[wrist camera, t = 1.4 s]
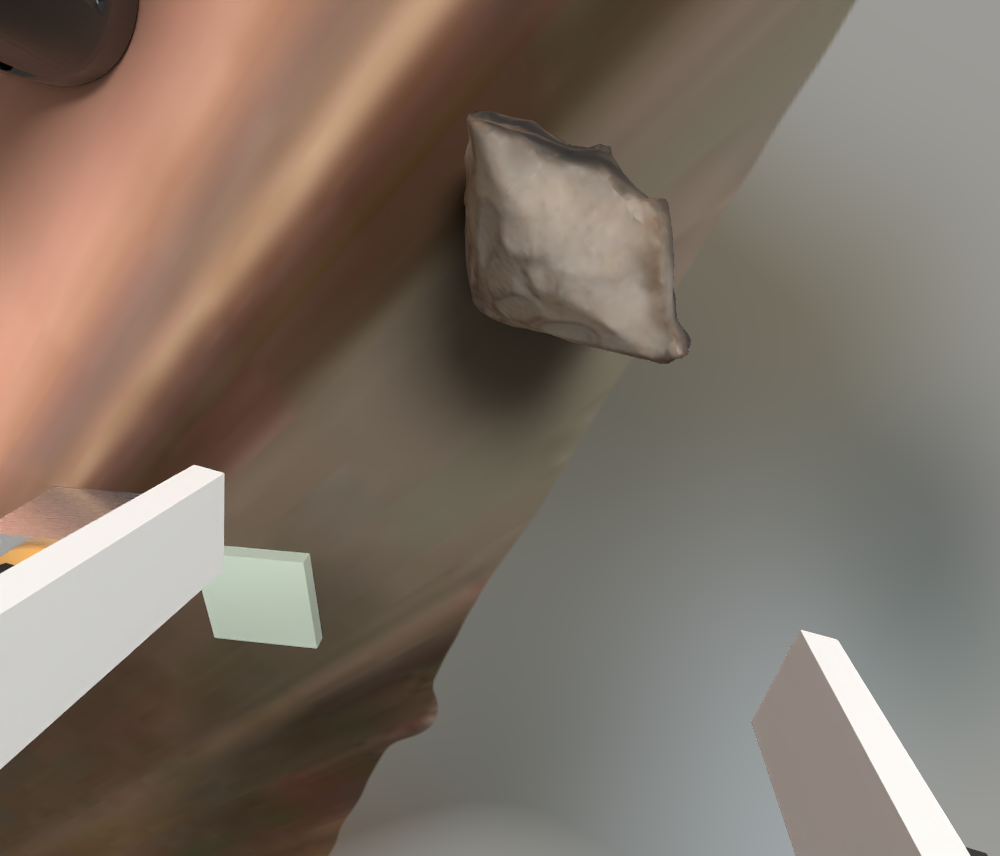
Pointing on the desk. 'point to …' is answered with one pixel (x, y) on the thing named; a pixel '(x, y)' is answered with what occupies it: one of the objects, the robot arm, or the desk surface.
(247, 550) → the mat
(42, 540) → the block
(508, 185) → the owl
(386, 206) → the desk surface
